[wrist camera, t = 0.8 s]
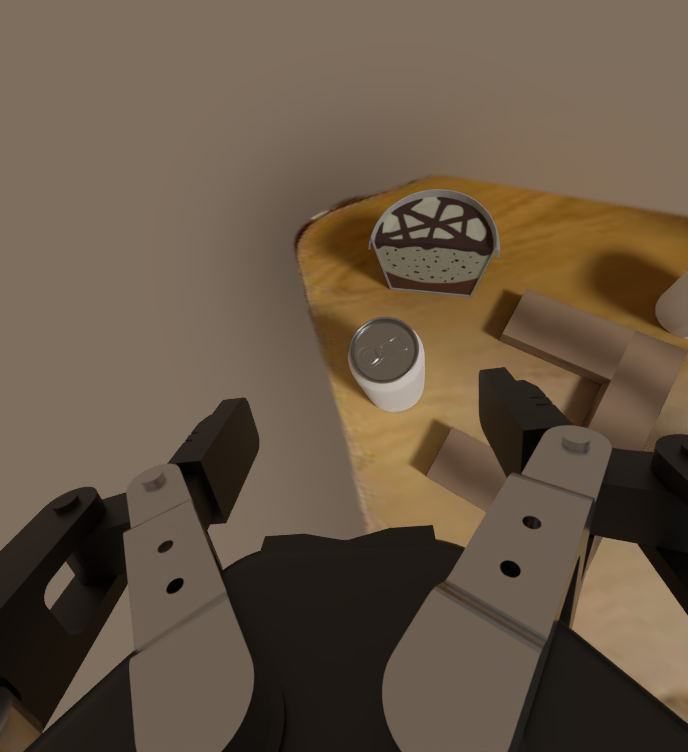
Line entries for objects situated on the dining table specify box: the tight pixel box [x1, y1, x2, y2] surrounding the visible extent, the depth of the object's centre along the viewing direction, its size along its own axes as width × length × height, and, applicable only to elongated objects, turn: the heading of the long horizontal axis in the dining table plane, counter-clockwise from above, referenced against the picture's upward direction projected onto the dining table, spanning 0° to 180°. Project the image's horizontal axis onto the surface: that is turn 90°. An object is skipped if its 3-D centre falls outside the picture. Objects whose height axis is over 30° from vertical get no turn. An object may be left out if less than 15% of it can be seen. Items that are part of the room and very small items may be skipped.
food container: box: [368, 189, 500, 297], centre depth 38 cm, size 12×6×10 cm, turn 78°
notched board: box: [426, 289, 688, 570], centre depth 35 cm, size 22×15×2 cm
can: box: [348, 317, 425, 412], centre depth 35 cm, size 6×6×12 cm
